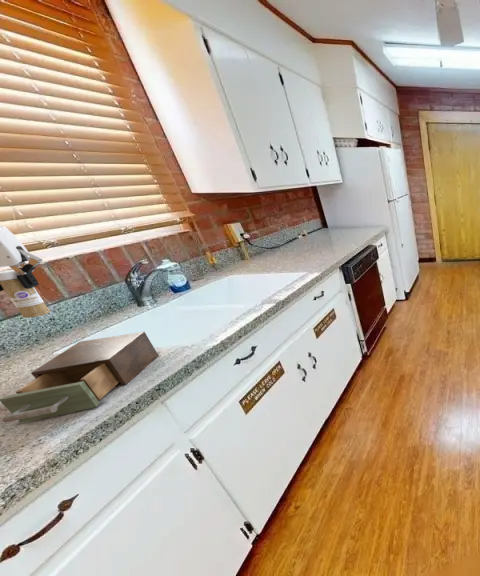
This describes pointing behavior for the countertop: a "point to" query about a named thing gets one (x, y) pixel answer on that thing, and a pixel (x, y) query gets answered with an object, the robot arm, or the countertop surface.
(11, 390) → the countertop surface
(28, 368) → the countertop surface
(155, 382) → the countertop surface
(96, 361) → the cabinet
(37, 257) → the robot arm
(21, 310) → the sprinkles bottle
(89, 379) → the drawer
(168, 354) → the countertop surface
